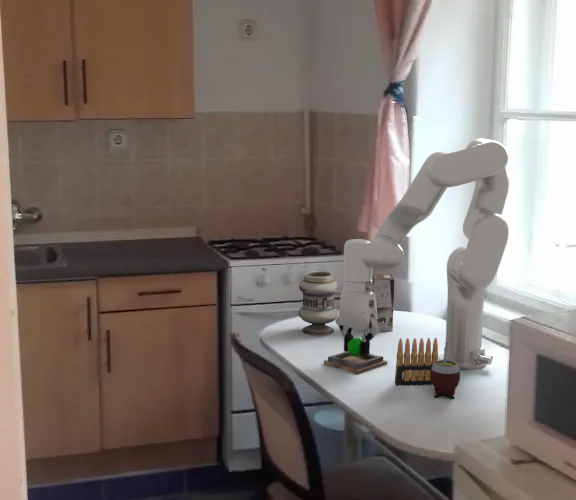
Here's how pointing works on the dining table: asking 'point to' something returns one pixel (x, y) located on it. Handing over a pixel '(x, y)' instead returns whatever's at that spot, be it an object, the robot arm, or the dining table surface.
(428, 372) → the ammunition clip
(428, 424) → the dining table surface
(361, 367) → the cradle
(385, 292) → the coffee box
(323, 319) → the apothecary jar
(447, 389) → the mate gourd
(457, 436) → the dining table surface
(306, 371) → the dining table surface
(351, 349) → the polyhedron
